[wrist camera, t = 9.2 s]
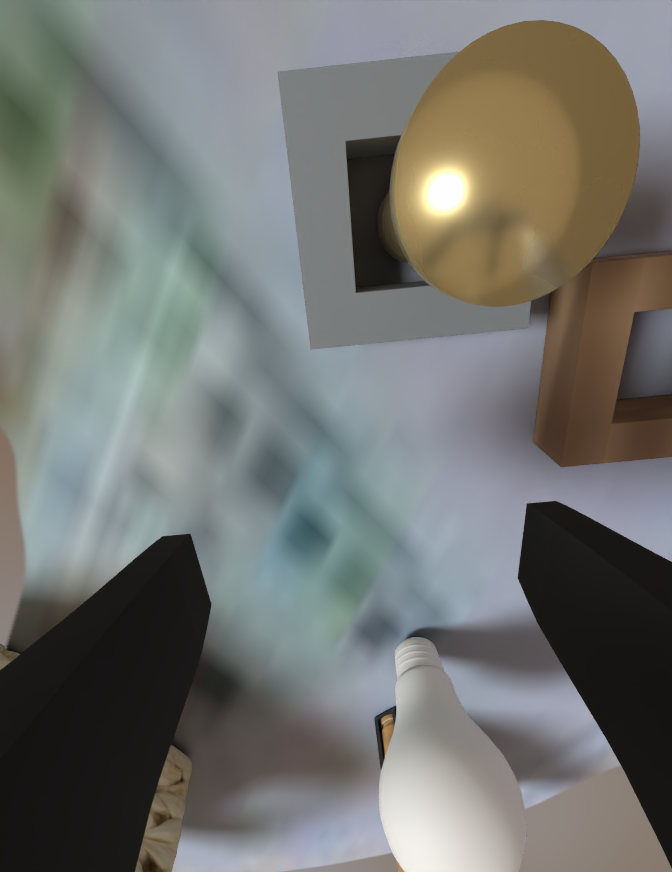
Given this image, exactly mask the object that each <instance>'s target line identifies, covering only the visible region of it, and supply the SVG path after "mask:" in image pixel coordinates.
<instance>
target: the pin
mask: <svg viewBox="0 0 672 872" xmlns="http://www.w3.org/2000/svg"><path fill="white" fill-rule="evenodd" d="M639 148H640V126H639V119H638V111H637V106H636V102H635V99H634V95H633V91H632V89H631V86H630V84H629V82H628V79H627V77H626V75H625V73H624V71H623V70H622V68H621V66H620V65H619V63H618V62H617V60H616V58H615V57H614V56H613V55H612V54H611V53H610V52H609V51H608V49H607V48H606V47H605V46H604V45H603V44H601V43H600V42H599V41H598V40H596V39H595V38H594V37H593V36H591V35H590V34H588V33H586V32H584V31H582V30H580V29H578V28H576V27H573V26H570V25H567V24H564V23H560V22H553V21H544V20H538V21H524V22H519V23H515V24H511V25H507V26H504V27H502V28H499V29H497V30H494V31H492V32H489V33H487V34H486V35H484V36H482V37H480V38H479V39H477V40H475V41H474V42H472V43H471V44H469V45H468V46H467V47H465V48H464V49H463V50H462V51H460V52H459V53H458V54H457V55H455V56H454V57H453V58H452V59H451V60H450V61H449V62H448V63H447V64H446V65H445V66H444V67H443V68H442V70H441V71H440V72H439V73H438V75H437V76H436V77H435V78H434V80H433V81H432V82H431V84H430V85H429V86H428V88H427V89H426V91H425V93H424V94H423V96H422V98H421V99H420V101H419V102H418V104H417V106H416V108H415V109H414V111H413V113H412V114H411V116H410V118H409V119H408V122H407V124H406V126H405V128H404V130H403V132H402V134H401V137H400V140H399V143H398V146H397V149H396V152H395V156H394V160H393V165H392V169H391V178H390V190H389V192H388V193H387V194H386V196H385V197H384V199H383V201H382V203H381V206H380V209H379V212H378V219H377V228H378V234H379V238H380V241H381V243H382V245H383V247H384V248H385V250H386V251H387V252H388V253H389V254H390V255H391V256H392V257H393V258H395V259H396V260H398V261H400V262H403V263H407V264H410V265H411V267H412V268H413V269H414V271H415V272H416V273H417V274H418V275H419V276H420V277H421V278H422V279H423V280H424V281H425V282H426V283H427V284H429V285H430V286H431V287H433V288H434V289H436V290H437V291H439V292H441V293H443V294H444V295H447V296H449V297H452V298H455V299H457V300H461V301H464V302H467V303H471V304H476V305H480V306H490V307H502V306H512V305H517V304H522V303H526V302H529V301H532V300H535V299H538V298H540V297H542V296H544V295H546V294H548V293H551V292H552V291H554V290H556V289H557V288H559V287H560V286H562V285H564V284H565V283H567V282H568V281H569V280H570V279H572V278H573V277H574V276H576V275H577V274H578V273H579V272H580V271H581V270H582V269H583V268H584V267H585V266H586V265H588V264H589V263H590V262H591V260H592V259H593V258H594V257H595V256H596V255H597V253H598V252H599V251H600V250H601V249H602V247H603V246H604V244H605V243H606V241H607V240H608V239H609V237H610V236H611V234H612V233H613V231H614V229H615V227H616V225H617V224H618V222H619V220H620V218H621V216H622V214H623V211H624V209H625V207H626V205H627V202H628V200H629V197H630V193H631V190H632V187H633V184H634V180H635V175H636V171H637V166H638V158H639Z"/></svg>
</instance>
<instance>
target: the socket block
mask: <svg viewBox="0 0 672 872" xmlns="http://www.w3.org/2000/svg"><path fill="white" fill-rule="evenodd" d="M458 53H459V52H453V53H444V54H435V55H425V56H416V57H407V58H398V59H389V60H380V61H371V62H362V63H353V64H344V65H335V66H326V67H317V68H308V69H298V70H289V71H280V72H278V79H279V87H280V95H281V104H282V112H283V121H284V129H285V137H286V146H287V154H288V163H289V171H290V179H291V188H292V196H293V205H294V213H295V221H296V230H297V238H298V247H299V255H300V263H301V272H302V280H303V289H304V297H305V306H306V314H307V322H308V331H309V339H310V348H311V349H320V348H330V347H341V346H351V345H361V344H371V343H381V342H391V341H402V340H412V339H422V338H432V337H442V336H453V335H463V334H473V333H483V332H493V331H503V330H514V329H524V328H528V327H529V317H530V307H531V301H529V302H526V303H522V304H517V305H512V306H502V307H490V306H480V305H476V304H471V303H467V302H464V301H461V300H457V299H455V298H452V297H449V296H447V295H444V294H443V293H441V292H439V291H437V290H436V289H434V288H433V287H431V286H430V285H429V284H427V283H426V282H425V281H418V282H408V283H398V284H388V285H378V286H368V287H358V288H355V274H354V260H353V245H352V231H351V216H350V202H349V187H348V173H347V159H351V158H361V157H370V156H379V155H389V154H395V152H396V149H397V146H398V143H399V140H400V137H401V134H402V132H403V130H404V128H405V126H406V124H407V122H408V119H409V118H410V116H411V114H412V113H413V111H414V109H415V108H416V106H417V104H418V102H419V101H420V99H421V98H422V96H423V94H424V93H425V91H426V89H427V88H428V86H429V85H430V84H431V82H432V81H433V80H434V78H435V77H436V76H437V75H438V73H439V72H440V71H441V70H442V68H443V67H444V66H445V65H446V64H447V63H448V62H449V61H450V60H451V59H452V58H453V57H454V56H455V55H457V54H458Z"/></svg>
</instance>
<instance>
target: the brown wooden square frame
mask: <svg viewBox="0 0 672 872" xmlns="http://www.w3.org/2000/svg"><path fill="white" fill-rule="evenodd" d="M670 308H672V251H663V252H653V253H643V254H633V255H623V256H613V257H603V258H593V259H592V260H591V262H590V263H589V264H588V265H586V266H585V267H584V268H583V269H582V270H581V271H580V272H579V273H578V274H577V275H576V276H574V277H573V278H572V279H570V280H569V281H568V282H567V283H565V284H564V285H562V286H560V287H559V288H557V289H556V290H554V291H552V292H551V298H550V306H549V314H548V323H547V331H546V339H545V348H544V356H543V364H542V373H541V381H540V389H539V398H538V406H537V414H536V423H535V431H534V439H533V443H535V444H536V445H537V446H538V447H539V448H540V449H541V450H542V451H544V452H545V453H546V454H547V455H548V456H549V457H550V458H551V459H553V460H554V461H555V462H556V463H557V464H558V465H559V466H560V467H566V466H577V465H588V464H599V463H609V462H620V461H631V460H642V459H653V458H664V457H672V395H661V396H651V397H640V398H630V399H619V400H617V395H618V390H619V385H620V380H621V375H622V370H623V365H624V360H625V356H626V351H627V346H628V341H629V336H630V331H631V326H632V321H633V316H634V312H640V311H650V310H660V309H670Z"/></svg>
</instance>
